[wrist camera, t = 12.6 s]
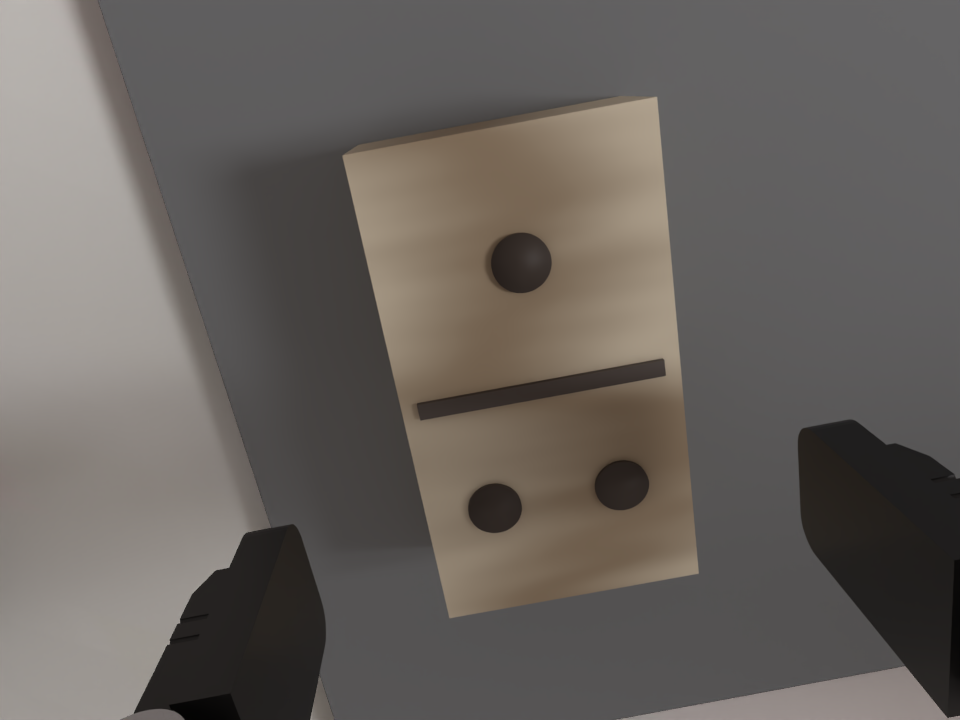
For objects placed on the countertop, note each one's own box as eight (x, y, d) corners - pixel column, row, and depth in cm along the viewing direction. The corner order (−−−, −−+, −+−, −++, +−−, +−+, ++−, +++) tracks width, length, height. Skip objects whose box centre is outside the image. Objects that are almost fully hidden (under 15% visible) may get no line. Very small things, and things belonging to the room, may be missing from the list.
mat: (1199, -655, 11) (1239, -694, 11) (1063, 617, 20) (1082, 633, 19) (-19, -400, 12) (-42, -425, 11) (352, 749, 20) (350, 769, 19)
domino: (663, 507, 17) (620, 95, 14) (700, 576, 15) (659, 97, 12) (448, 546, 17) (358, 144, 14) (449, 621, 15) (341, 155, 12)
